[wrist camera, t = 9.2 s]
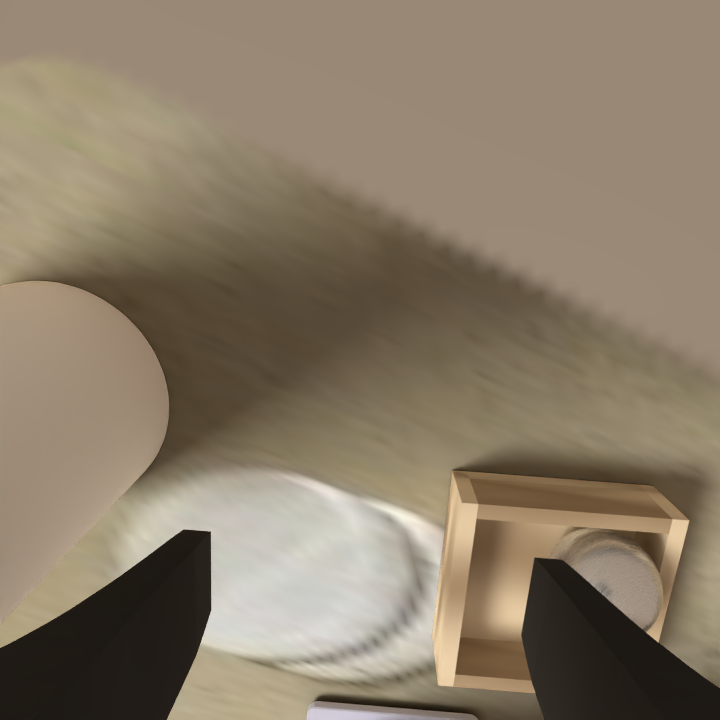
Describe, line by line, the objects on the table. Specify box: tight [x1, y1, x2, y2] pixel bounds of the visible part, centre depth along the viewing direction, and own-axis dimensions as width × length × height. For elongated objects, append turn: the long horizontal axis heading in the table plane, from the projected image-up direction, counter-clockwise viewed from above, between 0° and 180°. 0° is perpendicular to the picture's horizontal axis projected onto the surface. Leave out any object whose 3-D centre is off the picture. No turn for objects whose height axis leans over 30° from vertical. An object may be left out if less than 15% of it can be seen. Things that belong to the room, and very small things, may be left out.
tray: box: [432, 470, 689, 693], centre depth 21 cm, size 8×8×3 cm
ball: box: [548, 528, 663, 632], centre depth 20 cm, size 4×4×4 cm
